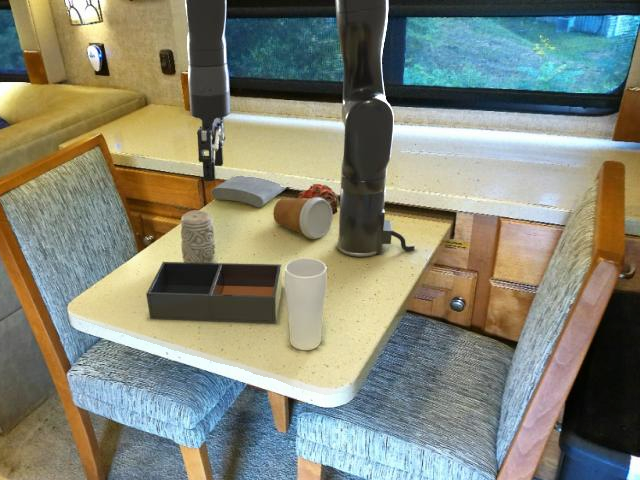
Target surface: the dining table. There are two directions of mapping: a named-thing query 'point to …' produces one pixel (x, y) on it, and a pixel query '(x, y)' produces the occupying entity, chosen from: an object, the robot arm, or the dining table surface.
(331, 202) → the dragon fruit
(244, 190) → the hip flask
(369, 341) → the dining table surface
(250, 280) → the storage box with compartments
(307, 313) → the drinking glass
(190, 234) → the carving
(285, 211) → the disposable coffee cup
